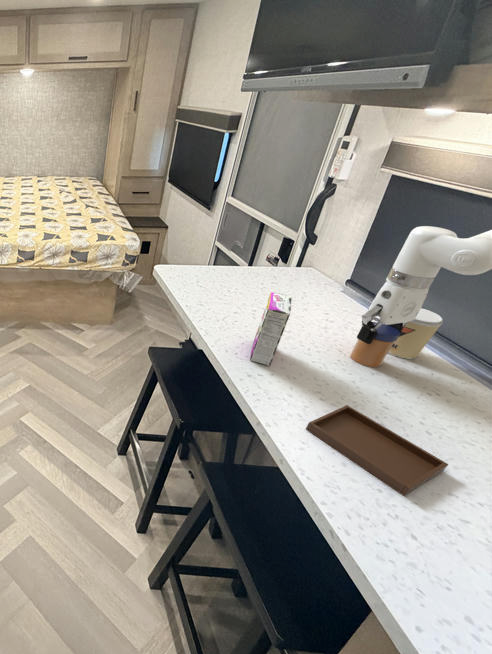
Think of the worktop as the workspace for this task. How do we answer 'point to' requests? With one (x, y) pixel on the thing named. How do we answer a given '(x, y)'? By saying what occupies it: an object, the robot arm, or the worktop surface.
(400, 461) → the walnut tray
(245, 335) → the worktop surface
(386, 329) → the jar lid
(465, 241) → the robot arm
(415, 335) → the coffee cup
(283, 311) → the candy bar box
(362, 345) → the jam jar
